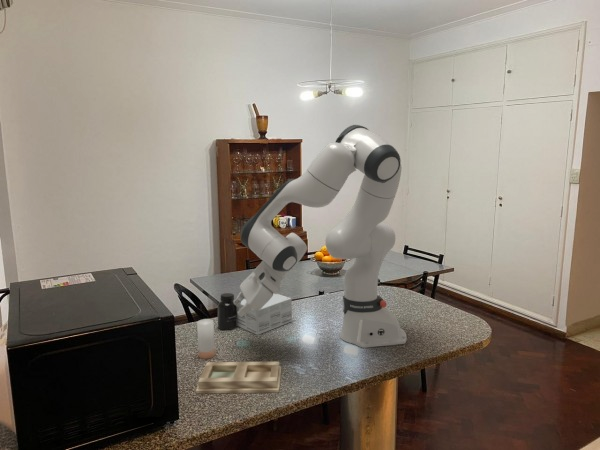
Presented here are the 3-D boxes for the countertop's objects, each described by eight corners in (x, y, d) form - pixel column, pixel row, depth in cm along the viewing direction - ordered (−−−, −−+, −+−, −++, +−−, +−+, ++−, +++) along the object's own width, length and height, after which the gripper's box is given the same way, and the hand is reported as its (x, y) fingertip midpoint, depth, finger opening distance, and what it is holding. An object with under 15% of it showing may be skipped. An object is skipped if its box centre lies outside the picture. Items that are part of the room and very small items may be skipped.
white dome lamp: (216, 351, 142) (215, 318, 140) (213, 358, 137) (211, 325, 135) (200, 351, 142) (198, 318, 140) (196, 359, 137) (194, 325, 135)
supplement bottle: (233, 330, 158) (233, 298, 156) (215, 329, 159) (214, 297, 157) (239, 323, 164) (239, 292, 163) (221, 322, 166) (221, 291, 164)
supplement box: (269, 313, 174) (269, 290, 173) (292, 322, 165) (292, 298, 164) (234, 325, 163) (233, 301, 161) (257, 335, 154) (256, 309, 152)
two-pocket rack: (281, 368, 130) (281, 359, 129) (278, 392, 117) (278, 382, 116) (206, 369, 130) (206, 360, 129) (195, 393, 117) (195, 383, 117)
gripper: (254, 262, 149) (226, 293, 148) (265, 279, 129) (233, 314, 128) (267, 274, 150) (239, 304, 150) (281, 292, 131) (249, 327, 130)
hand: (237, 309), depth 139 cm, fingers open, 8 cm apart
